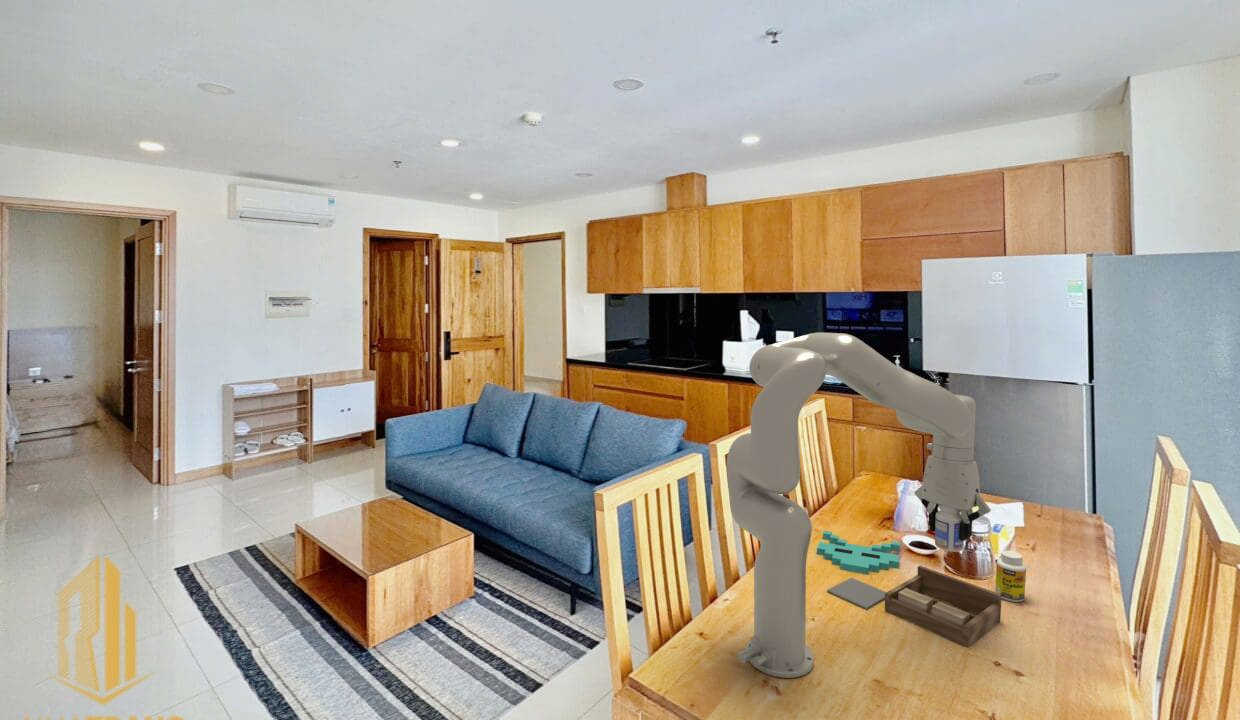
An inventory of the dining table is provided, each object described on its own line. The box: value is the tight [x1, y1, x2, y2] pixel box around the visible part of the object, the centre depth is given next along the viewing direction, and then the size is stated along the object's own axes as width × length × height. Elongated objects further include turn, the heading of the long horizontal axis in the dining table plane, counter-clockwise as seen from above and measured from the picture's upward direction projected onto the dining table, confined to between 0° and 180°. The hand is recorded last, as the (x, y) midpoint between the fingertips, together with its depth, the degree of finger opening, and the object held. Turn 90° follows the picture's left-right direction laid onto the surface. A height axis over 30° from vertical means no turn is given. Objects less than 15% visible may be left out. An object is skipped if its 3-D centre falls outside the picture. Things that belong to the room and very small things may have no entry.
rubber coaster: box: [826, 577, 887, 611], centre depth 131 cm, size 10×10×1 cm
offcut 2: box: [932, 601, 970, 628], centre depth 115 cm, size 3×6×4 cm, turn 35°
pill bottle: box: [934, 505, 965, 553], centre depth 121 cm, size 5×5×10 cm
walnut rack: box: [884, 565, 1002, 648], centre depth 121 cm, size 15×17×6 cm
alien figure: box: [816, 530, 901, 576], centre depth 150 cm, size 20×2×20 cm
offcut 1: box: [898, 588, 934, 615], centre depth 121 cm, size 3×6×4 cm, turn 35°
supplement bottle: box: [994, 550, 1027, 603], centre depth 128 cm, size 6×6×10 cm
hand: (949, 533), depth 121 cm, fingers closed on pill bottle, 5 cm apart
